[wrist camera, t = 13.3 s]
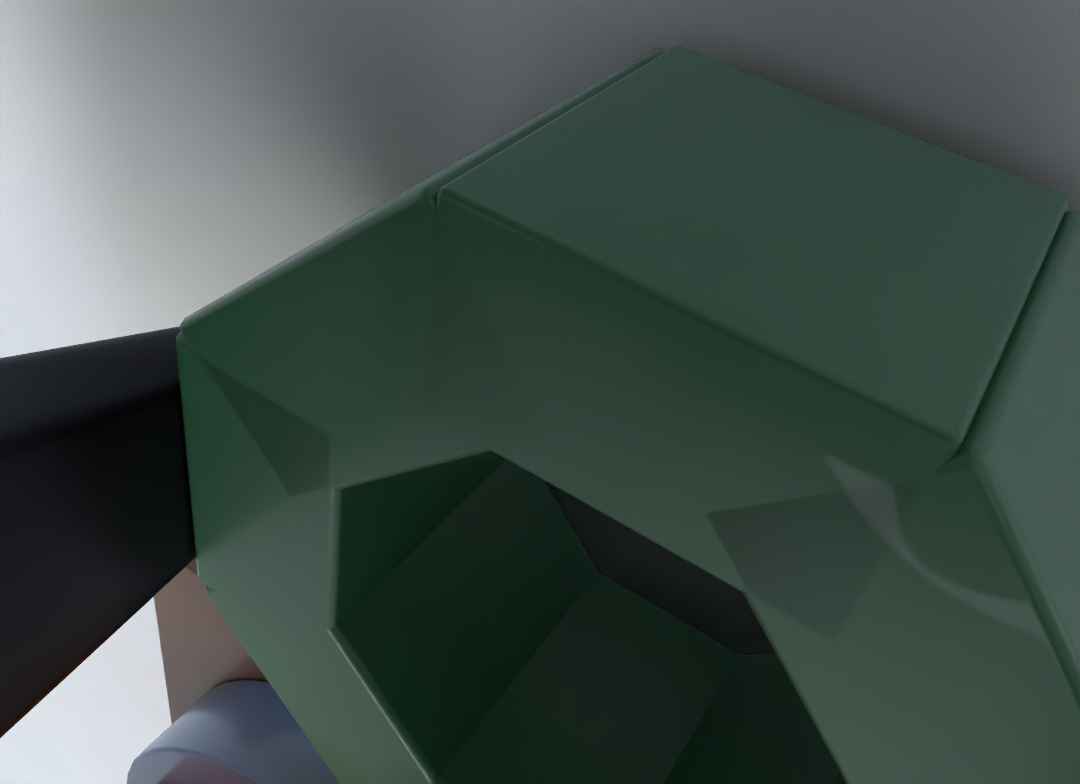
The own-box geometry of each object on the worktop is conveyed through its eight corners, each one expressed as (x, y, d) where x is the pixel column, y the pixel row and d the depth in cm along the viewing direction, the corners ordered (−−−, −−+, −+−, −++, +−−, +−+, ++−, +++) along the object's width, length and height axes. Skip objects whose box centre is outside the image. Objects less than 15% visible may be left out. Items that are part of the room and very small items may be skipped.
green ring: (439, -51, 8) (142, 46, 6) (1446, 340, 6) (1518, 703, 4) (385, 538, 13) (206, 708, 11) (938, 882, 11) (846, 1180, 8)
